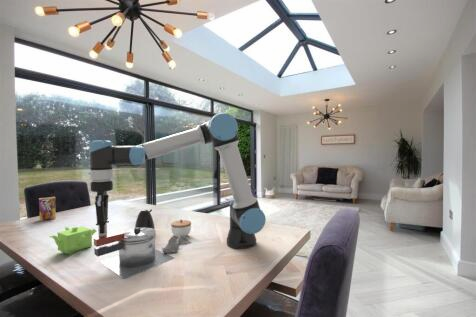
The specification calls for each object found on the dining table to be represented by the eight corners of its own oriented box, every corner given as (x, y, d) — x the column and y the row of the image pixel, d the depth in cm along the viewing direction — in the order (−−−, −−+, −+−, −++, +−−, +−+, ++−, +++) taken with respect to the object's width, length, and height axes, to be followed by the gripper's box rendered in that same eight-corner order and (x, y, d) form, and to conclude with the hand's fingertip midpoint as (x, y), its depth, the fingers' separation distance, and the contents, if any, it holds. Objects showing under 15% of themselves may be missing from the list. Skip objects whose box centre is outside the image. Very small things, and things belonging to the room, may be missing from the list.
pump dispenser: (159, 235, 135) (158, 208, 135) (144, 241, 126) (144, 212, 125) (145, 232, 139) (144, 206, 139) (130, 238, 130) (130, 210, 129)
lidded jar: (186, 240, 127) (186, 223, 126) (167, 239, 129) (167, 221, 128) (194, 234, 137) (194, 217, 137) (176, 232, 139) (176, 216, 139)
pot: (144, 249, 112) (144, 228, 112) (162, 258, 103) (162, 235, 103) (89, 268, 94) (88, 243, 94) (104, 281, 85) (104, 253, 85)
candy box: (55, 217, 174) (55, 196, 173) (55, 218, 170) (55, 197, 170) (39, 219, 168) (39, 198, 168) (39, 221, 165) (38, 198, 164)
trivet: (175, 260, 103) (175, 258, 103) (124, 281, 86) (123, 278, 86) (147, 247, 117) (147, 245, 117) (99, 263, 100) (99, 261, 100)
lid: (145, 228, 112) (145, 221, 112) (162, 235, 102) (162, 227, 102) (88, 242, 95) (88, 234, 95) (102, 252, 85) (102, 243, 85)
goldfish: (171, 237, 128) (183, 225, 127) (183, 250, 127) (196, 239, 126) (153, 254, 108) (168, 240, 107) (168, 270, 108) (183, 257, 106)
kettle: (48, 259, 105) (48, 233, 105) (63, 247, 119) (62, 224, 119) (87, 255, 109) (87, 230, 109) (97, 244, 123) (96, 222, 123)
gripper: (94, 179, 98) (95, 236, 99) (86, 183, 86) (87, 248, 87) (114, 178, 101) (116, 234, 102) (109, 182, 89) (110, 245, 89)
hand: (102, 240), depth 94 cm, fingers closed
